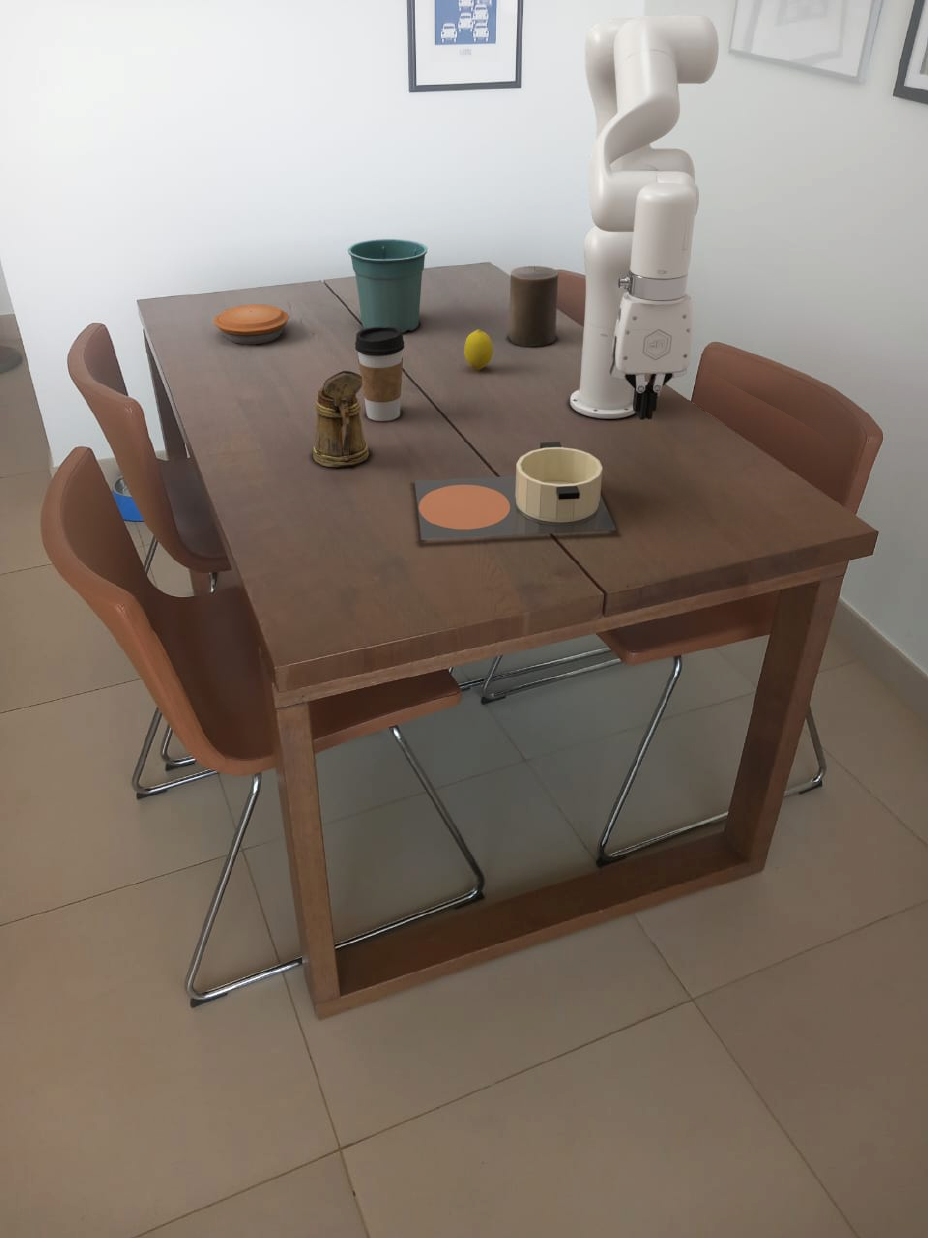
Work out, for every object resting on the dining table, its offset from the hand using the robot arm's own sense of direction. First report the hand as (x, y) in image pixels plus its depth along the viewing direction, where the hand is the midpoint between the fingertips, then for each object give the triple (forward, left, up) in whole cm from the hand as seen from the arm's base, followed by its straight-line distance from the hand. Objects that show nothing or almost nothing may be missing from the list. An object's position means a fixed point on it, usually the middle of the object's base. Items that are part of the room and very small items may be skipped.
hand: (643, 415), depth 142 cm
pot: (+12, 0, -14) cm, 18 cm away
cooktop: (+19, 0, -14) cm, 24 cm away
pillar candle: (+5, -71, -15) cm, 73 cm away
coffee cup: (+37, -36, -15) cm, 54 cm away
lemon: (+18, -55, -15) cm, 60 cm away
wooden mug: (+44, -18, -15) cm, 50 cm away
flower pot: (+34, -82, -15) cm, 90 cm away
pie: (+63, -79, -15) cm, 102 cm away
